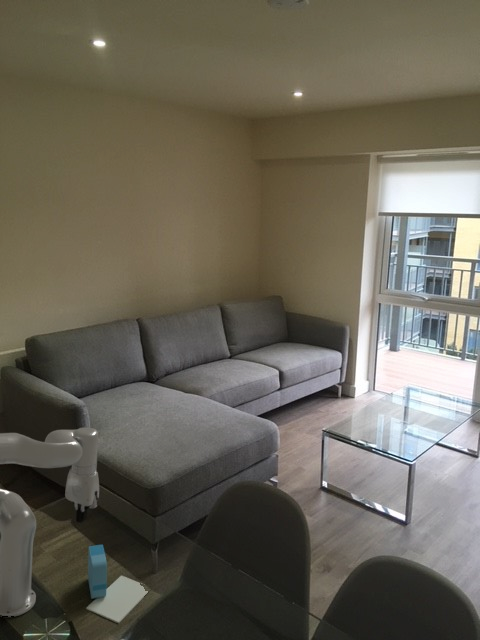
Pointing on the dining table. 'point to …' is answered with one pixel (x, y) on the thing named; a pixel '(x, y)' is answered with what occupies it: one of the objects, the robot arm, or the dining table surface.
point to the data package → (97, 571)
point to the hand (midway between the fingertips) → (81, 520)
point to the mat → (118, 599)
